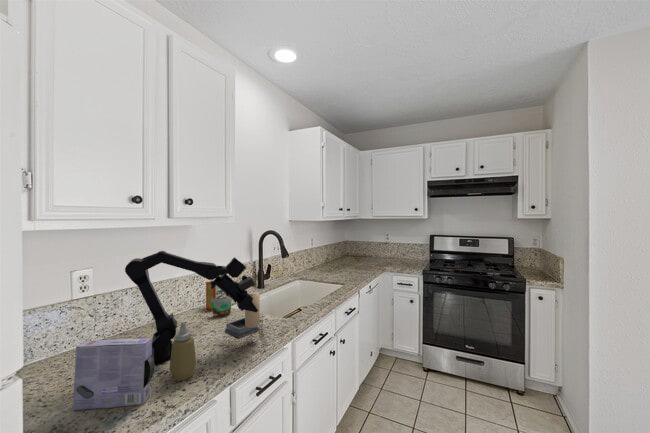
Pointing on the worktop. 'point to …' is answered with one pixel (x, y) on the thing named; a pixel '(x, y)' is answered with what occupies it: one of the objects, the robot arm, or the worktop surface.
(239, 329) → the dock
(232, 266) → the robot arm
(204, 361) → the worktop surface
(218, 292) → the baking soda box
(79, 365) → the cake pan box
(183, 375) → the squeeze bottle
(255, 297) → the beige tapered cylinder
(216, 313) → the food container
